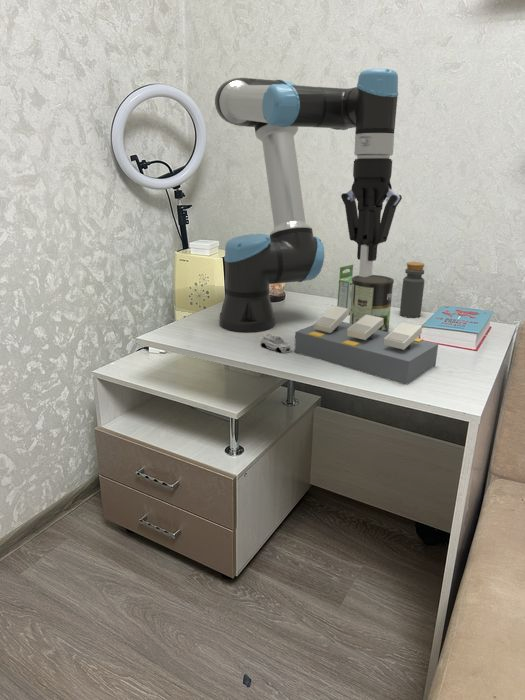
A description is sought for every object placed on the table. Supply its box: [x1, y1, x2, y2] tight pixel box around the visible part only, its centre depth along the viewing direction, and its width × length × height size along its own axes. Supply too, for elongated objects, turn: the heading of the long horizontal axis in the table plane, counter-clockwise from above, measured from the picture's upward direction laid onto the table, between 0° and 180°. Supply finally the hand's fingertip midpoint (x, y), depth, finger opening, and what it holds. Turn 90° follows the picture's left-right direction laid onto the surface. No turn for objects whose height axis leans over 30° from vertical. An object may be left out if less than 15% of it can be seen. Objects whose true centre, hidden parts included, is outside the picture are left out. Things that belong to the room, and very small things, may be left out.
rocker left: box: [312, 305, 350, 333], centre depth 122 cm, size 4×8×2 cm, turn 139°
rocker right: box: [384, 321, 423, 350], centre depth 111 cm, size 4×8×2 cm, turn 139°
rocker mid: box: [347, 315, 384, 340], centre depth 116 cm, size 4×8×2 cm, turn 139°
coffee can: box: [349, 274, 395, 332], centre depth 135 cm, size 10×10×14 cm
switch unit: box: [294, 321, 439, 386], centre depth 118 cm, size 28×14×6 cm, turn 49°
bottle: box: [399, 261, 425, 319], centre depth 150 cm, size 6×6×15 cm
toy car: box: [260, 333, 292, 354], centre depth 124 cm, size 4×8×3 cm, turn 46°
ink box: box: [336, 264, 356, 315], centre depth 153 cm, size 7×4×13 cm, turn 136°
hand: (365, 275), depth 112 cm, fingers closed
